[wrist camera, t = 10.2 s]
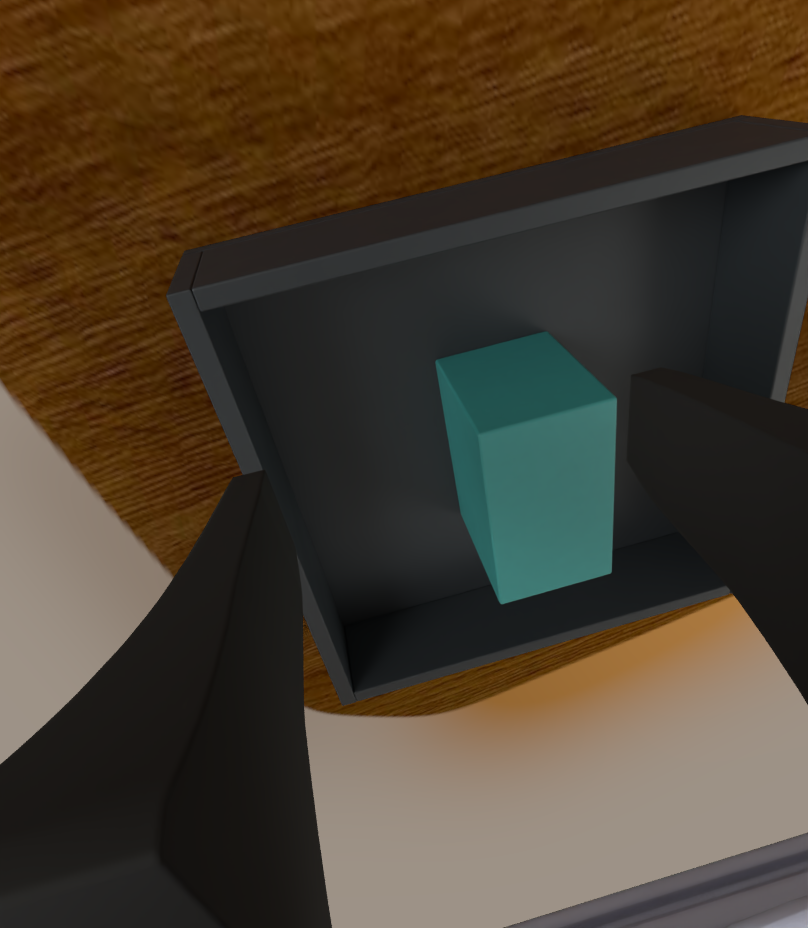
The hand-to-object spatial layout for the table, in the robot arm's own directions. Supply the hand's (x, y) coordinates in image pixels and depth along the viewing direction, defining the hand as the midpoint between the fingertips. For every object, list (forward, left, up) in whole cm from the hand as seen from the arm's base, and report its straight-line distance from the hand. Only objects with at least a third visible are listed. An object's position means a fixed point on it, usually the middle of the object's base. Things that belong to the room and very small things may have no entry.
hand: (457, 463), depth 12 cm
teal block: (+3, -6, -9) cm, 11 cm away
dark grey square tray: (+3, -6, -9) cm, 11 cm away
